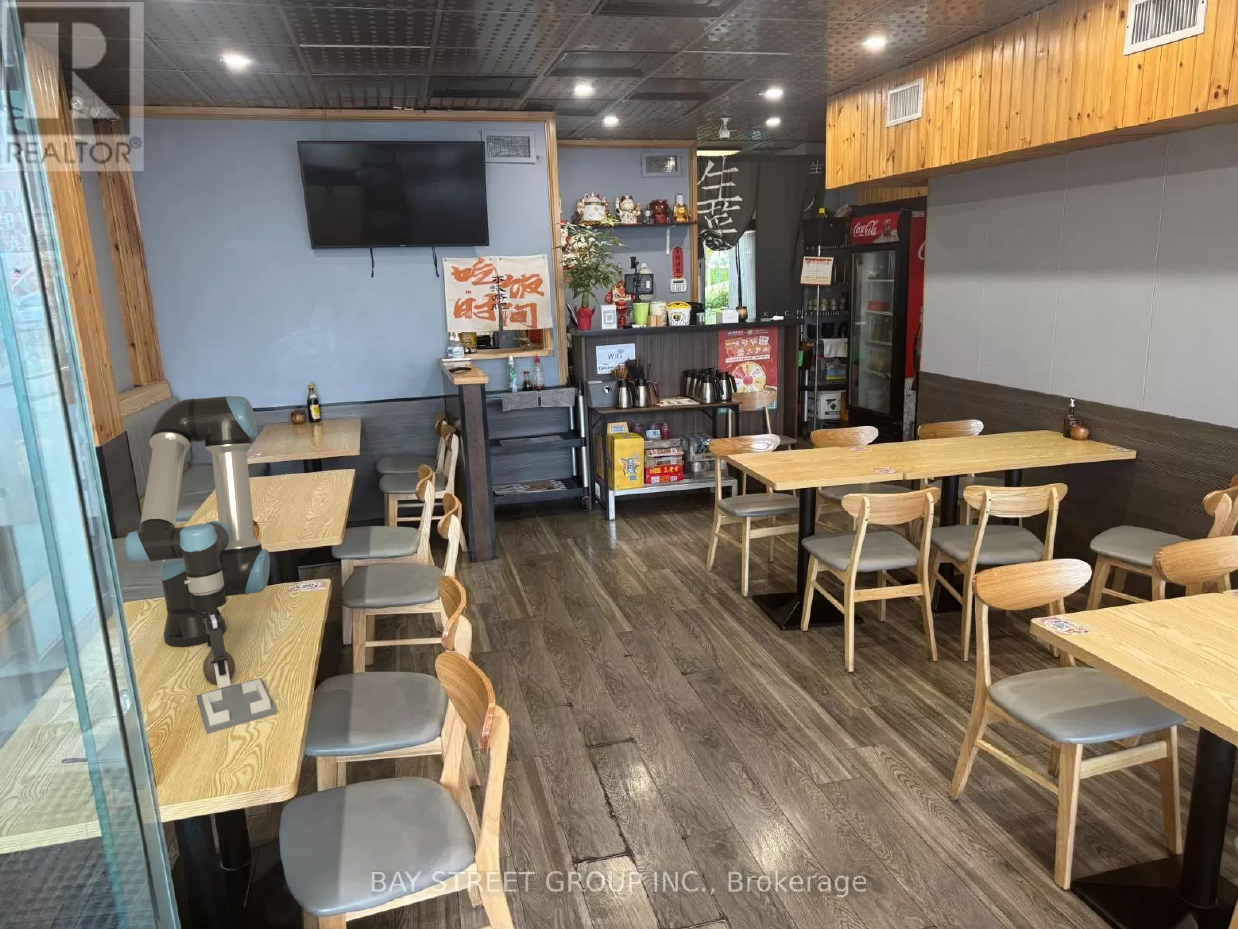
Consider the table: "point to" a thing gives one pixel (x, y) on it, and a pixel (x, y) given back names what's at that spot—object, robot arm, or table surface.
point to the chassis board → (235, 705)
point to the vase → (210, 670)
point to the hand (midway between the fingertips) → (221, 679)
